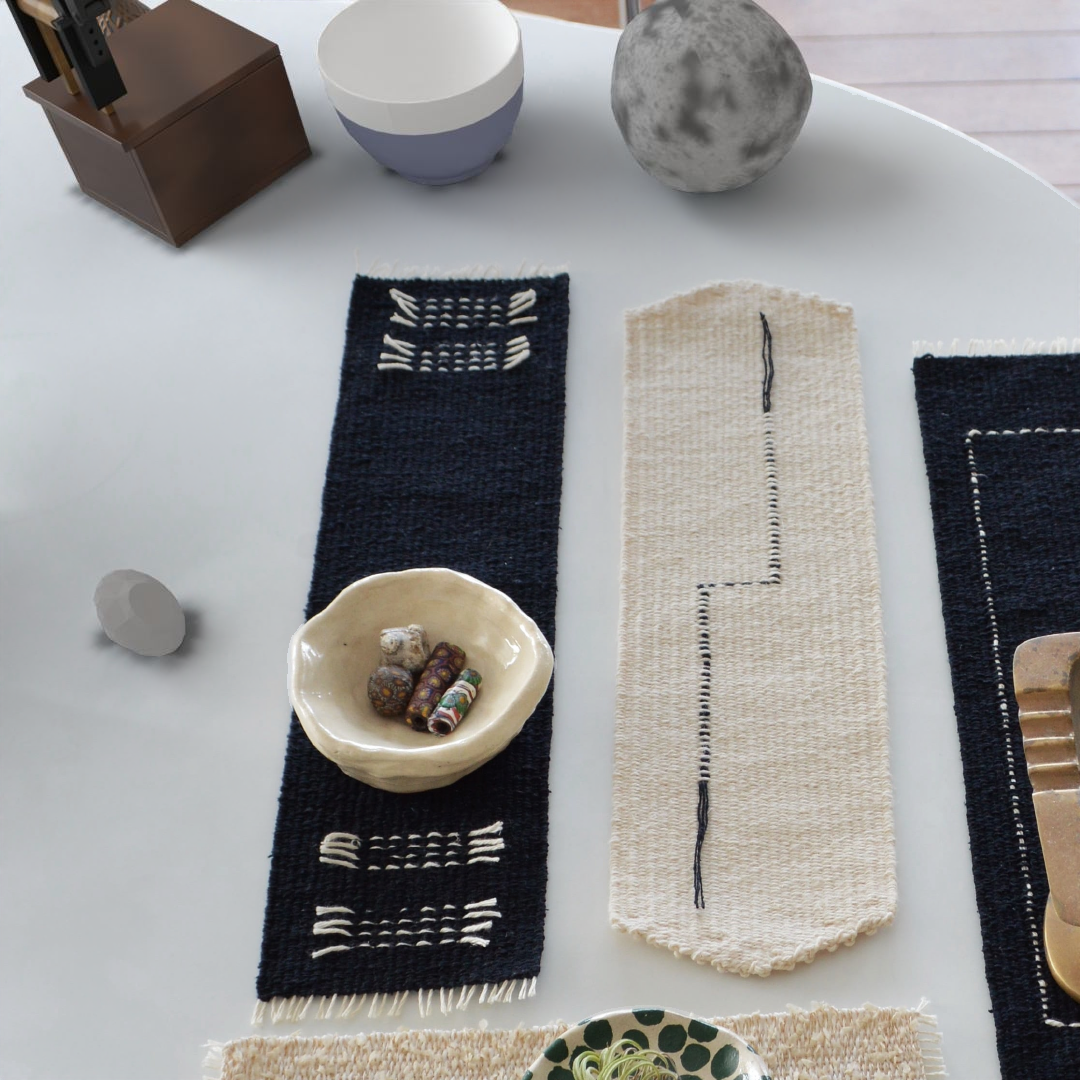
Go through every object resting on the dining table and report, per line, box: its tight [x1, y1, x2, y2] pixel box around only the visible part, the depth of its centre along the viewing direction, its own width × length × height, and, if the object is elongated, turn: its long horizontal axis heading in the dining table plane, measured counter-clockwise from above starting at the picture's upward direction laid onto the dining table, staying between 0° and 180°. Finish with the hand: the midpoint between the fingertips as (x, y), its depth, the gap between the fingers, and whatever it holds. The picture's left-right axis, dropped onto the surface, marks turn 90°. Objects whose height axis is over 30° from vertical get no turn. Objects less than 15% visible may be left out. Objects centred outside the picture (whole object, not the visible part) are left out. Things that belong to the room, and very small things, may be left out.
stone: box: [610, 0, 814, 194], centre depth 111 cm, size 15×16×15 cm
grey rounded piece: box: [93, 568, 187, 658], centre depth 92 cm, size 6×6×5 cm
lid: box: [16, 0, 282, 153], centre depth 107 cm, size 15×12×9 cm
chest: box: [40, 54, 313, 248], centre depth 115 cm, size 15×12×9 cm
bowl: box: [314, 0, 525, 186], centre depth 116 cm, size 16×16×10 cm
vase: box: [97, 0, 153, 38], centre depth 121 cm, size 7×7×9 cm
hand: (84, 85), depth 107 cm, fingers closed on lid, 5 cm apart
